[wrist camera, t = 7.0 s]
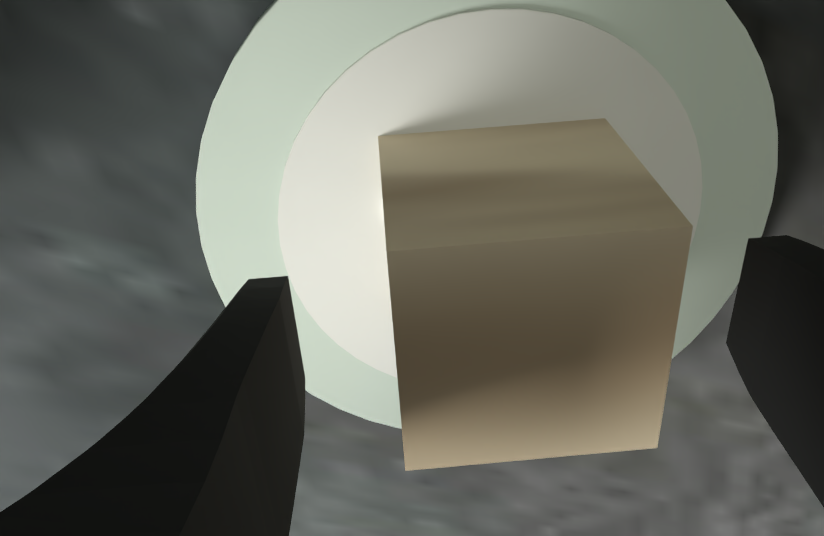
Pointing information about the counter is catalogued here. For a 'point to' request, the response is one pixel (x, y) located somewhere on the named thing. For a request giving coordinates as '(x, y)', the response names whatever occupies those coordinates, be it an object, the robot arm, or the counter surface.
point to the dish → (454, 110)
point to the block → (529, 292)
